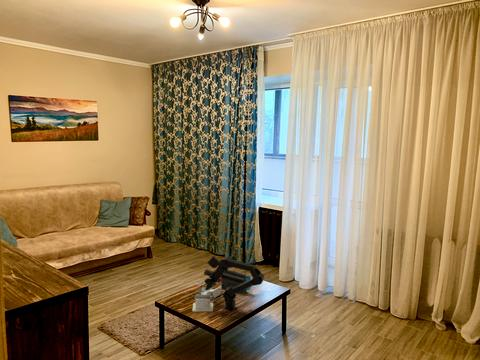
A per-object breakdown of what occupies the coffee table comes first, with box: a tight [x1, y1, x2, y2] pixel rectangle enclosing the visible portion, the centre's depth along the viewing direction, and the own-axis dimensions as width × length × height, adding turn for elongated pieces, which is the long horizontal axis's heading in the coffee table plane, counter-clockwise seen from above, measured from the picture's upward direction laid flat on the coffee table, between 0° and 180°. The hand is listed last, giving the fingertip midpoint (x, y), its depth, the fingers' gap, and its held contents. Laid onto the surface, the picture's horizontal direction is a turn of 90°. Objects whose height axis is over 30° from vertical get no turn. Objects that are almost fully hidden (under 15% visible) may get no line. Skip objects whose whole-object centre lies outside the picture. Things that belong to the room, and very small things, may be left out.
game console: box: [220, 270, 252, 296], centre depth 278 cm, size 28×6×15 cm, turn 57°
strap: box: [194, 294, 211, 299], centre depth 249 cm, size 10×3×1 cm, turn 94°
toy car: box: [197, 280, 224, 301], centre depth 270 cm, size 18×10×12 cm
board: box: [192, 302, 214, 313], centre depth 250 cm, size 14×11×1 cm
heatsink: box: [194, 294, 211, 309], centre depth 249 cm, size 11×8×7 cm
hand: (205, 290), depth 249 cm, fingers closed
